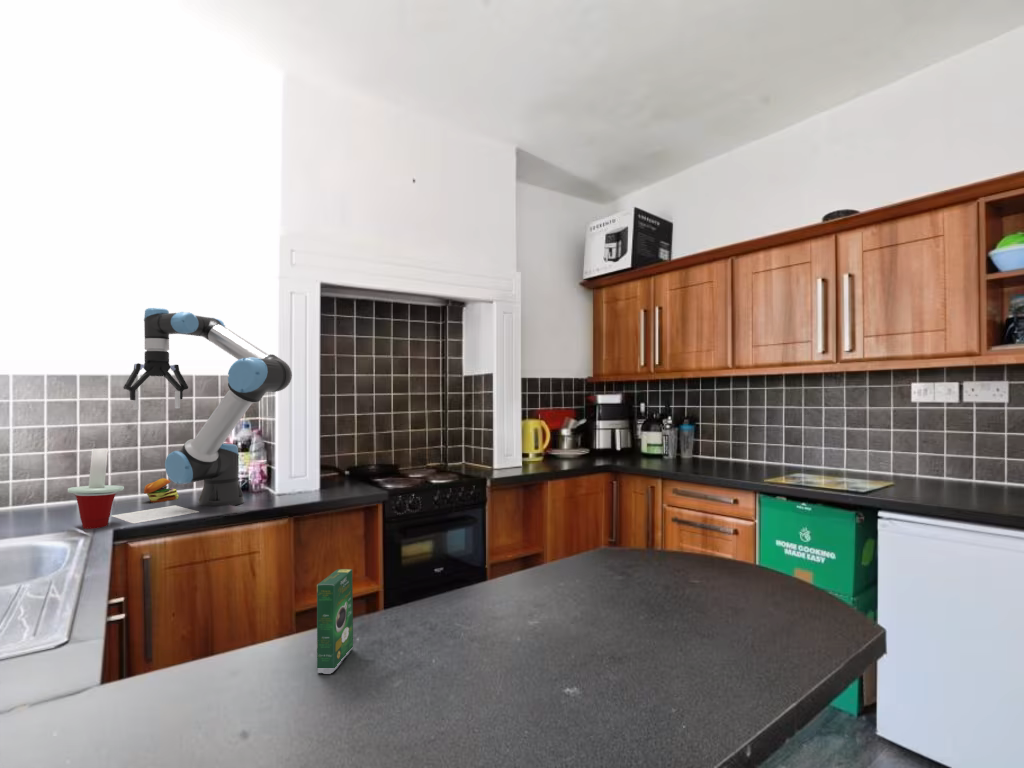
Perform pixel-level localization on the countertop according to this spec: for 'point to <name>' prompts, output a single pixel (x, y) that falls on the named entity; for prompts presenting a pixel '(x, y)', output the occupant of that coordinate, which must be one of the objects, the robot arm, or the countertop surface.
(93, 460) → the lid
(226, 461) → the robot arm
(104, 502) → the plastic cup
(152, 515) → the mat
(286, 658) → the countertop surface
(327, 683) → the countertop surface
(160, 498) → the cheeseburger
